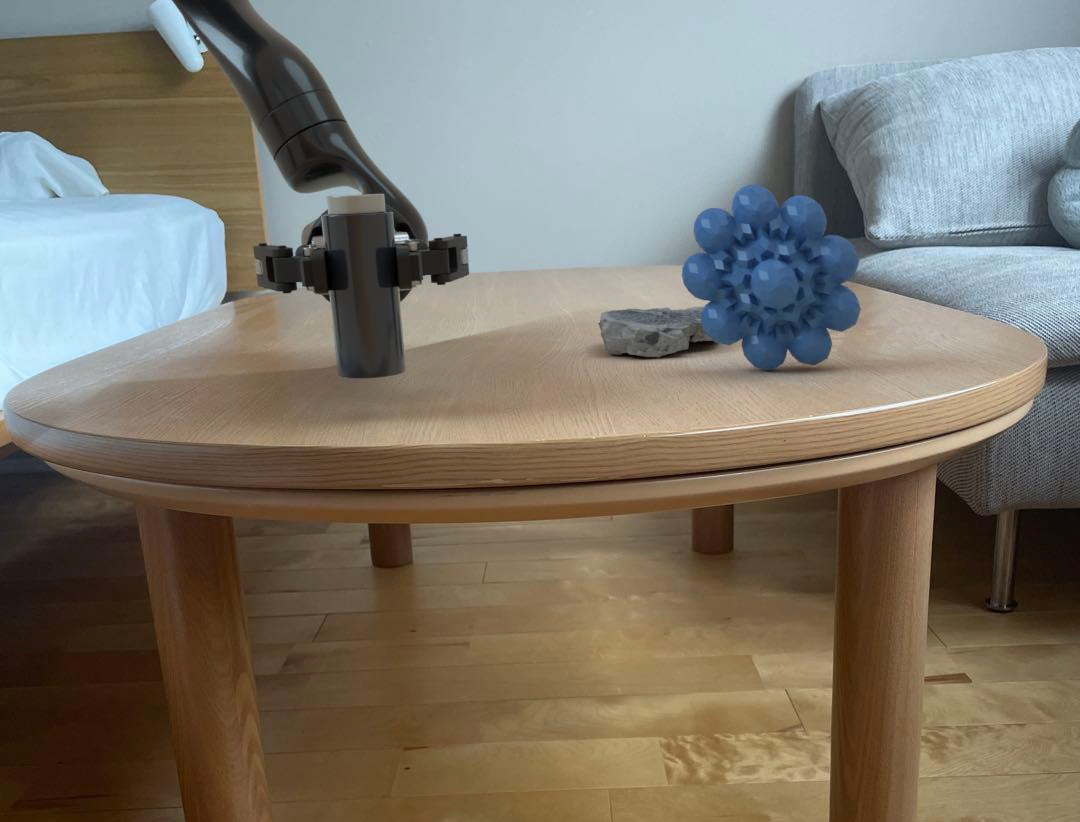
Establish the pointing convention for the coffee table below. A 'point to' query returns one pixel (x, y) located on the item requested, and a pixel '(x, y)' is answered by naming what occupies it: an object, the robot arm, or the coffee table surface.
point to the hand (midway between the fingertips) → (362, 271)
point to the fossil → (651, 330)
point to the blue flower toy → (772, 278)
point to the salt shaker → (363, 286)
